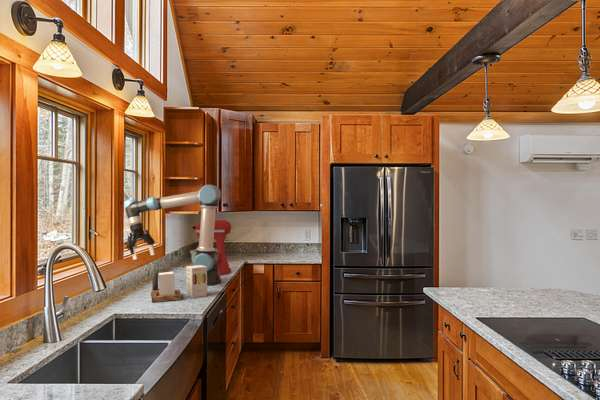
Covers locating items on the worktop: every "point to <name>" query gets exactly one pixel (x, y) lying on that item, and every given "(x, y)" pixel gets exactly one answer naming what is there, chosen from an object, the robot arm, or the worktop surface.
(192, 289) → the supplement box
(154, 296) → the brown wooden frame
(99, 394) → the worktop surface
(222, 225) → the stand mixer
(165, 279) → the skincare box
